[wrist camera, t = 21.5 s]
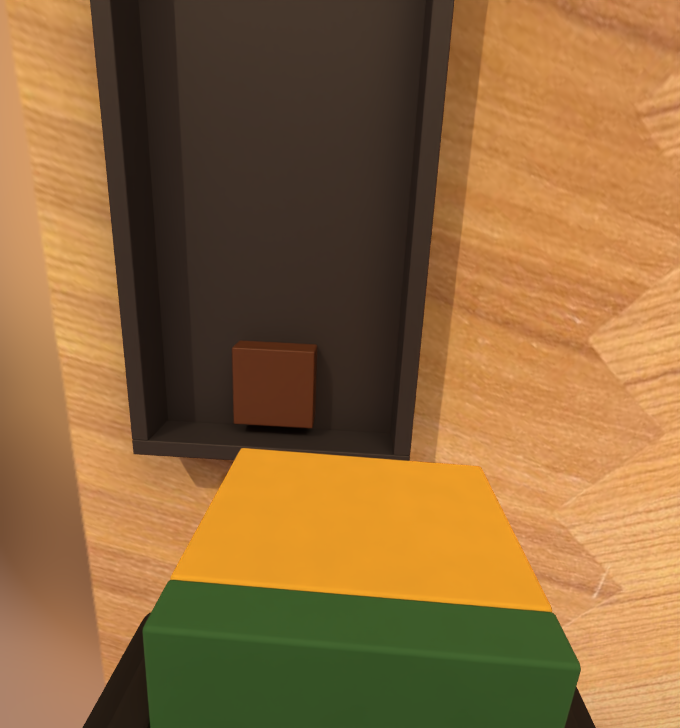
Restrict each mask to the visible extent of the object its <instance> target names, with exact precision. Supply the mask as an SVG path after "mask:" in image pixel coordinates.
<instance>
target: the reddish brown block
mask: <svg viewBox="0 0 680 728" xmlns="http://www.w3.org/2000/svg"><path fill="white" fill-rule="evenodd" d="M232 374H233V414H234V424H247V425H264V426H281V427H298V428H312V427H313V423H314V419H315V407H316V374H317V345H315V344H296V343H277V342H258V341H239V342H238V343H237V344H236V345H234V346H233V347H232Z"/></svg>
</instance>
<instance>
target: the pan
mask: <svg viewBox="0 0 680 728" xmlns="http://www.w3.org/2000/svg"><path fill="white" fill-rule="evenodd" d="M90 5H91V15H92V26H93V36H94V47H95V57H96V67H97V78H98V88H99V98H100V109H101V119H102V130H103V140H104V150H105V161H106V171H107V182H108V192H109V202H110V213H111V223H112V233H113V244H114V254H115V265H116V275H117V285H118V296H119V306H120V317H121V327H122V337H123V348H124V358H125V368H126V379H127V389H128V400H129V410H130V420H131V431H132V439H133V440H132V442H133V452H134V454H140V455H156V456H173V457H190V458H206V459H223V460H235V458H236V456H237V455H238V453H239V451H240V449H241V448H249V449H262V450H275V451H288V452H301V453H314V454H327V455H340V456H353V457H365V458H378V459H391V460H404V461H409V460H410V450H411V440H412V429H413V419H414V409H415V399H416V388H417V378H418V368H419V358H420V347H421V337H422V327H423V317H424V306H425V296H426V286H427V276H428V265H429V255H430V245H431V235H432V224H433V214H434V204H435V194H436V183H437V173H438V163H439V153H440V142H441V132H442V122H443V112H444V101H445V91H446V81H447V71H448V60H449V50H450V40H451V30H452V19H453V9H454V0H90ZM239 341H258V342H277V343H296V344H315V345H317V374H316V407H315V419H314V423H313V427H312V428H298V427H281V426H264V425H247V424H234V414H233V374H232V347H233V346H234V345H236V344H237V343H238V342H239Z"/></svg>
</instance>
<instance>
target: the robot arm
mask: <svg viewBox="0 0 680 728" xmlns="http://www.w3.org/2000/svg"><path fill="white" fill-rule="evenodd" d="M150 614H151V613H149V614H148V615H146V616H145V618H144V619H143V621H142V622H141V624H140V626H139V627H138V629H137V631H136V633H135V635H134V636H133V638H132V640H131V642H130V643H129V645H128V647H127V649H126V651H125V652H124V654H123V656H122V658H121V660H120V661H119V663H118V665H117V667H116V669H115V670H114V672H113V674H112V676H111V678H110V679H109V681H108V683H107V685H106V687H105V688H104V690H103V692H102V694H101V696H100V697H99V699H98V701H97V703H96V704H95V706H94V708H93V710H92V712H91V714H90V715H89V717H88V719H87V721H86V723H85V724H84V726H83V728H150V718H149V705H148V693H147V681H146V668H145V656H144V643H143V627H144V625H145V623H146V621H147V619H148V617H149V616H150ZM565 728H596V727H595V725H594V723H593V721H592V719H591V717H590V715H589V713H588V710H587V708H586V706H585V704H584V702H583V700H582V698H581V695H580V693H579V691H578V689H577V687H576V689H575V692H574V696H573V699H572V703H571V707H570V710H569V714H568V717H567V721H566V724H565Z"/></svg>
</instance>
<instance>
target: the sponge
mask: <svg viewBox="0 0 680 728" xmlns="http://www.w3.org/2000/svg"><path fill="white" fill-rule="evenodd" d="M143 643H144V656H145V668H146V681H147V693H148V705H149V718H150V728H565V724H566V721H567V717H568V714H569V710H570V707H571V703H572V699H573V696H574V692H575V689H576V685H577V682H578V678H579V675H580V671H581V668H580V663H579V661H578V659H577V657H576V655H575V653H574V651H573V649H572V647H571V645H570V643H569V641H568V639H567V637H566V635H565V633H564V631H563V629H562V627H561V625H560V623H559V621H558V619H557V617H556V615H555V614H554V613H552V608H551V605H550V603H549V601H548V600H547V598H546V596H545V594H544V592H543V590H542V588H541V586H540V584H539V582H538V580H537V578H536V576H535V574H534V572H533V570H532V568H531V566H530V564H529V562H528V560H527V558H526V556H525V554H524V552H523V550H522V548H521V546H520V544H519V542H518V540H517V538H516V536H515V534H514V532H513V530H512V528H511V526H510V524H509V522H508V520H507V518H506V516H505V514H504V512H503V510H502V508H501V506H500V504H499V502H498V500H497V498H496V496H495V494H494V492H493V490H492V488H491V486H490V484H489V482H488V480H487V478H486V476H485V474H484V472H483V470H482V468H481V467H479V466H469V465H456V464H443V463H430V462H417V461H404V460H391V459H378V458H365V457H353V456H340V455H327V454H314V453H301V452H288V451H275V450H262V449H249V448H241V449H240V451H239V453H238V455H237V456H236V458H235V460H234V462H233V464H232V466H231V467H230V469H229V471H228V473H227V475H226V477H225V478H224V480H223V482H222V484H221V486H220V488H219V489H218V491H217V493H216V495H215V497H214V499H213V500H212V502H211V504H210V506H209V508H208V509H207V511H206V513H205V515H204V517H203V519H202V520H201V522H200V524H199V526H198V528H197V530H196V531H195V533H194V535H193V537H192V539H191V541H190V542H189V544H188V546H187V548H186V550H185V552H184V553H183V555H182V557H181V559H180V561H179V563H178V564H177V566H176V568H175V570H174V572H173V573H172V575H171V580H170V581H169V582H168V583H167V585H166V586H165V588H164V590H163V592H162V594H161V595H160V597H159V599H158V601H157V603H156V605H155V606H154V608H153V610H152V612H151V614H150V616H149V617H148V619H147V621H146V623H145V625H144V627H143Z"/></svg>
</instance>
